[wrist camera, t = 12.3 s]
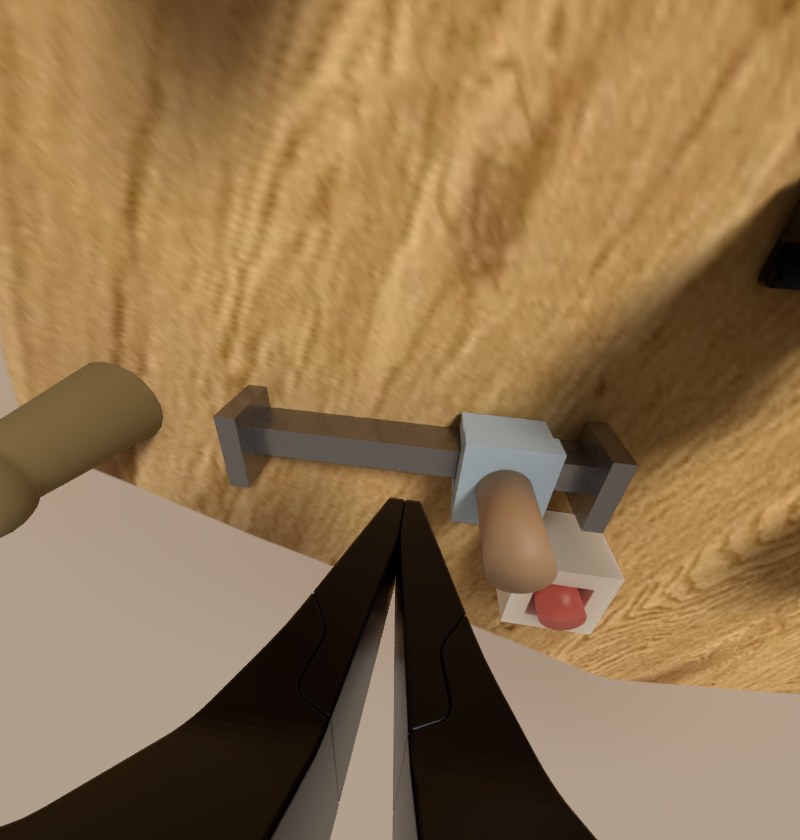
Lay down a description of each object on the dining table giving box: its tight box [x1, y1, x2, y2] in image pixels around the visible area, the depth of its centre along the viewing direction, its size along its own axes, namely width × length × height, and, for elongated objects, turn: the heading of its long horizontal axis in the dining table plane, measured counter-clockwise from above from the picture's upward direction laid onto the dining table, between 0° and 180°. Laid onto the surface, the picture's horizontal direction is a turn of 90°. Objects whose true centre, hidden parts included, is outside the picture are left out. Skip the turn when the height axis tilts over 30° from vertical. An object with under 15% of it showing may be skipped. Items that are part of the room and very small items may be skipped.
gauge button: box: [533, 584, 587, 630], centre depth 23 cm, size 3×3×4 cm
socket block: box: [496, 510, 625, 635], centre depth 24 cm, size 6×6×5 cm
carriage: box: [451, 412, 567, 594], centre depth 19 cm, size 5×6×9 cm
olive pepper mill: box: [0, 362, 163, 538], centre depth 20 cm, size 6×6×11 cm
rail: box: [213, 385, 638, 534], centre depth 21 cm, size 22×5×4 cm, turn 86°
